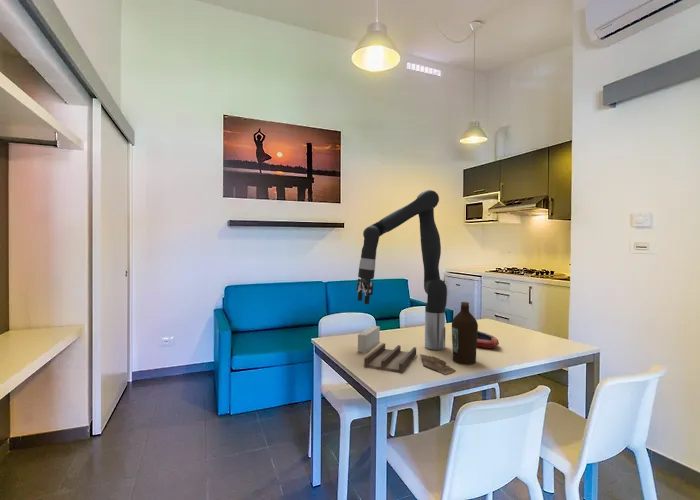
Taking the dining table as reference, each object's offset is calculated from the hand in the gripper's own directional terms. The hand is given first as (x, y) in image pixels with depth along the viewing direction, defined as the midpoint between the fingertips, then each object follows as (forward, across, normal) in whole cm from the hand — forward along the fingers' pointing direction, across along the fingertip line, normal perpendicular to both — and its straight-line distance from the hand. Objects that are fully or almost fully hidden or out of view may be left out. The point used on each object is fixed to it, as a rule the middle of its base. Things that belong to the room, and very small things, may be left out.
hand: (362, 302), depth 167 cm
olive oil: (+17, -31, -36) cm, 51 cm away
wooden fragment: (+19, -30, -22) cm, 42 cm away
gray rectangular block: (+22, +1, -7) cm, 23 cm away
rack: (+20, -21, -7) cm, 30 cm away
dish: (+16, -9, -60) cm, 63 cm away
